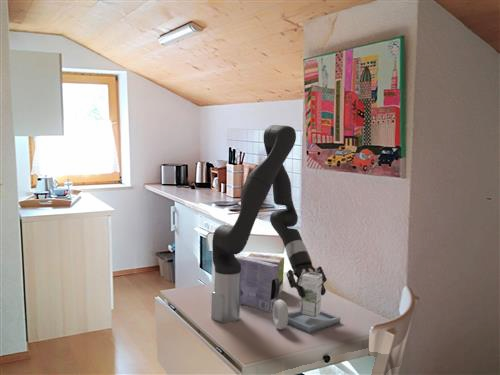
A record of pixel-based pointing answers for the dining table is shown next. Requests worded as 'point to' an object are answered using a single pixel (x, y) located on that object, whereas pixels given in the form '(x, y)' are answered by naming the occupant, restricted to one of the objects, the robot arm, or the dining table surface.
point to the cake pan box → (258, 283)
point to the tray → (312, 321)
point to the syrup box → (311, 294)
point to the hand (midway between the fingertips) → (313, 295)
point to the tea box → (271, 260)
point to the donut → (280, 314)
